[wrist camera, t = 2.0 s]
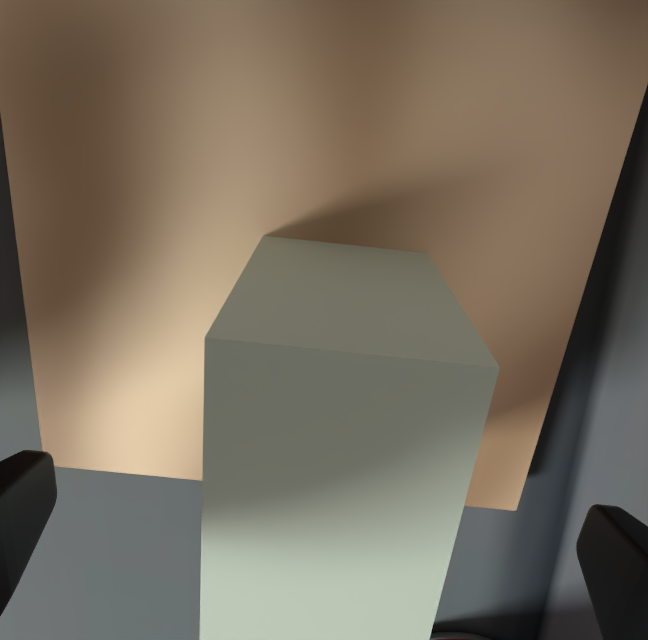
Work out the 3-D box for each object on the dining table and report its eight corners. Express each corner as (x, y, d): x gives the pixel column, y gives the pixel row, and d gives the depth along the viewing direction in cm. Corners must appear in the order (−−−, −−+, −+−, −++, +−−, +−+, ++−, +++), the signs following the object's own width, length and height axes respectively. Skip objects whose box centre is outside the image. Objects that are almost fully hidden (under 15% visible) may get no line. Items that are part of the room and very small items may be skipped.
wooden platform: (64, 440, 16) (-6, 526, 13) (6, -113, 11) (-137, -209, 8) (503, 483, 17) (545, 577, 13) (654, -37, 11) (789, -98, 8)
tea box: (250, 442, 15) (199, 644, 9) (262, 235, 13) (204, 337, 7) (393, 456, 15) (427, 665, 9) (430, 253, 13) (505, 368, 7)
